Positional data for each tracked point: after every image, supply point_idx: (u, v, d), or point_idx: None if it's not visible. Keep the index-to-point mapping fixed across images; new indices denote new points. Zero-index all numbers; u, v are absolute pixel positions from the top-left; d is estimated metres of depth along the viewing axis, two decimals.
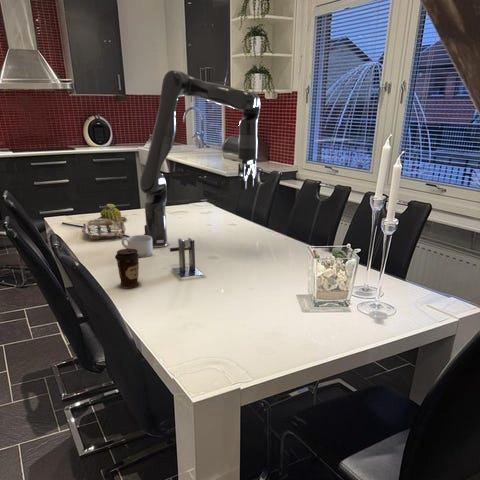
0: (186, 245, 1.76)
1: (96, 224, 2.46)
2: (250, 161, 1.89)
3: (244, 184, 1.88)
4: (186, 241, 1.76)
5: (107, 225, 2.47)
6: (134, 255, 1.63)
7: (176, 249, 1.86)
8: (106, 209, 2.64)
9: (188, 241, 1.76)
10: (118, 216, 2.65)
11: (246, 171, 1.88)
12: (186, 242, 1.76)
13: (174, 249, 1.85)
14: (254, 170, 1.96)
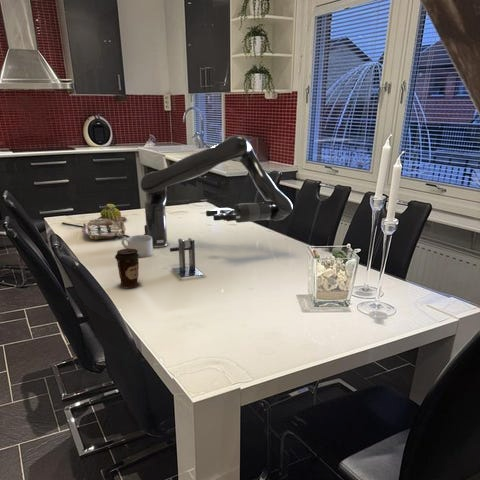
0: (186, 245, 1.76)
1: (96, 224, 2.46)
2: None
3: (219, 219, 1.84)
4: (186, 241, 1.76)
5: (107, 225, 2.47)
6: (134, 255, 1.63)
7: (176, 249, 1.86)
8: (106, 209, 2.64)
9: (188, 241, 1.76)
10: (118, 216, 2.65)
11: (228, 217, 1.87)
12: (186, 242, 1.76)
13: (174, 249, 1.85)
14: (219, 214, 1.94)
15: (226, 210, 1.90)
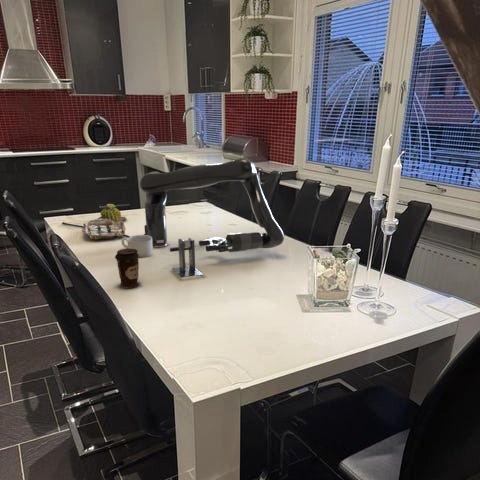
0: (186, 245, 1.76)
1: (96, 224, 2.46)
2: None
3: (211, 250, 1.87)
4: (186, 241, 1.76)
5: (107, 225, 2.47)
6: (134, 255, 1.63)
7: (176, 249, 1.86)
8: (106, 209, 2.64)
9: (188, 241, 1.76)
10: (118, 216, 2.65)
11: (221, 247, 1.91)
12: (186, 242, 1.76)
13: (174, 249, 1.85)
14: None
15: (218, 240, 1.94)
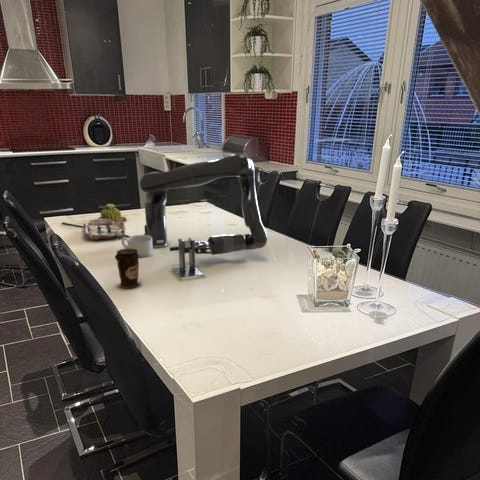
0: (186, 245, 1.76)
1: (96, 224, 2.46)
2: None
3: None
4: (186, 241, 1.76)
5: (107, 225, 2.47)
6: (134, 255, 1.63)
7: (176, 248, 1.86)
8: (106, 209, 2.64)
9: (188, 241, 1.76)
10: (118, 216, 2.65)
11: None
12: (186, 242, 1.76)
13: (174, 248, 1.85)
14: None
15: None
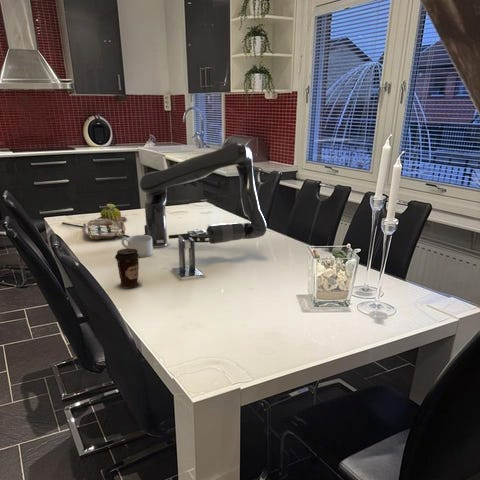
0: (186, 247, 1.77)
1: (96, 224, 2.46)
2: None
3: None
4: (186, 243, 1.76)
5: (107, 225, 2.47)
6: (134, 255, 1.63)
7: (175, 237, 1.84)
8: (106, 209, 2.64)
9: (188, 243, 1.76)
10: (118, 216, 2.65)
11: None
12: (186, 244, 1.76)
13: (173, 237, 1.84)
14: None
15: (199, 231, 1.90)
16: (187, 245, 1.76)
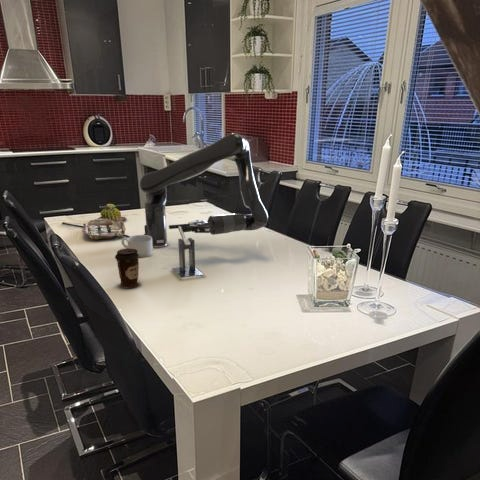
0: (186, 248, 1.77)
1: (96, 224, 2.46)
2: None
3: (187, 231, 1.83)
4: (187, 245, 1.76)
5: (107, 225, 2.47)
6: (134, 255, 1.63)
7: (175, 228, 1.82)
8: (106, 209, 2.64)
9: (189, 245, 1.76)
10: (118, 216, 2.65)
11: None
12: (186, 246, 1.76)
13: (173, 228, 1.81)
14: None
15: (200, 222, 1.87)
16: (187, 246, 1.77)
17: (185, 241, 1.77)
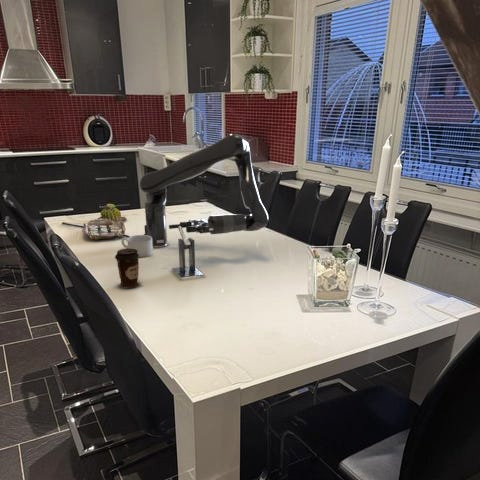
0: (186, 248, 1.77)
1: (96, 224, 2.46)
2: None
3: (192, 231, 1.81)
4: (187, 245, 1.76)
5: (107, 225, 2.47)
6: (134, 255, 1.63)
7: (175, 227, 1.82)
8: (106, 209, 2.64)
9: (189, 245, 1.76)
10: (118, 216, 2.65)
11: (202, 229, 1.84)
12: (186, 246, 1.76)
13: (173, 227, 1.81)
14: (194, 225, 1.91)
15: (200, 222, 1.87)
16: (187, 246, 1.77)
17: (185, 241, 1.76)
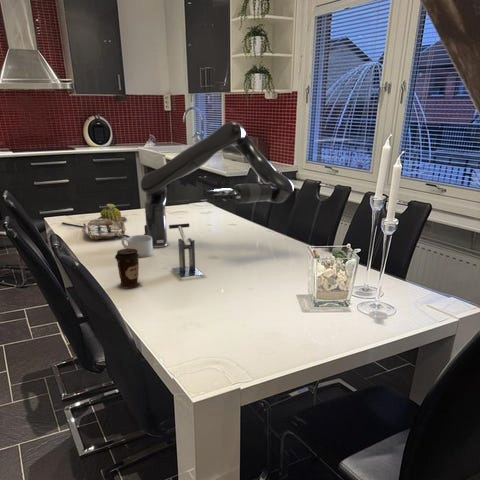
0: (186, 248, 1.77)
1: (96, 224, 2.46)
2: None
3: (219, 199, 1.80)
4: (187, 245, 1.76)
5: (107, 225, 2.47)
6: (134, 255, 1.63)
7: (175, 227, 1.82)
8: (106, 209, 2.64)
9: (189, 245, 1.76)
10: (118, 216, 2.65)
11: None
12: (186, 246, 1.76)
13: (173, 227, 1.81)
14: None
15: (226, 190, 1.87)
16: (187, 246, 1.77)
17: (185, 241, 1.76)
